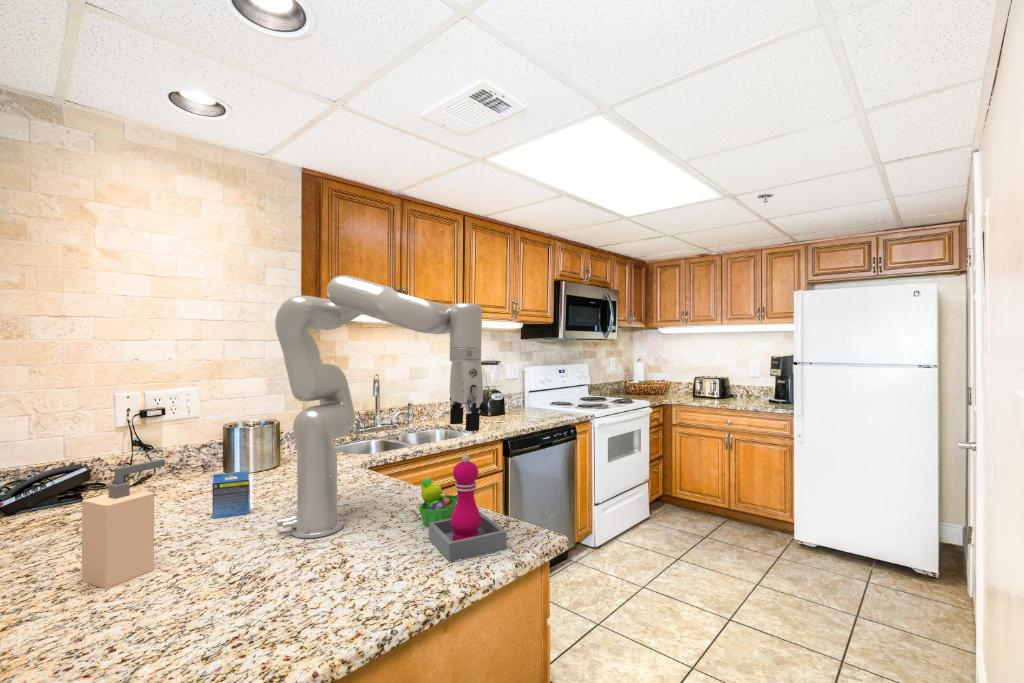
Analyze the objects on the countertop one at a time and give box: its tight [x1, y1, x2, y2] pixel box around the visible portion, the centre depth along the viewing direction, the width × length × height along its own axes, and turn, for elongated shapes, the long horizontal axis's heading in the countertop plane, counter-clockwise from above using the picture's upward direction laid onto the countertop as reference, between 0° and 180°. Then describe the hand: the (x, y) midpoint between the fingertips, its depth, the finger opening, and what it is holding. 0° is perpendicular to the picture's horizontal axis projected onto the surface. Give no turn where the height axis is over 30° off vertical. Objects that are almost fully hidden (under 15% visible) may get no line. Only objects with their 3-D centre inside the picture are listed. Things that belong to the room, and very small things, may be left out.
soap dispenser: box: [81, 458, 166, 590], centre depth 98 cm, size 13×9×22 cm
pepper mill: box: [450, 454, 481, 541], centre depth 111 cm, size 7×7×20 cm
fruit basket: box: [418, 477, 457, 527], centre depth 126 cm, size 11×9×11 cm
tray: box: [428, 512, 507, 563], centre depth 110 cm, size 14×14×4 cm
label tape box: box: [211, 470, 251, 520], centre depth 131 cm, size 9×4×12 cm, turn 115°
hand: (464, 427), depth 111 cm, fingers open, 9 cm apart
